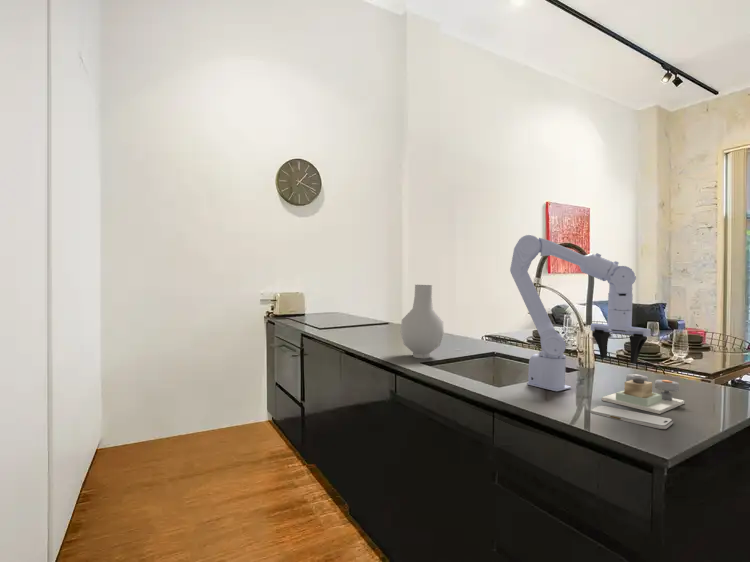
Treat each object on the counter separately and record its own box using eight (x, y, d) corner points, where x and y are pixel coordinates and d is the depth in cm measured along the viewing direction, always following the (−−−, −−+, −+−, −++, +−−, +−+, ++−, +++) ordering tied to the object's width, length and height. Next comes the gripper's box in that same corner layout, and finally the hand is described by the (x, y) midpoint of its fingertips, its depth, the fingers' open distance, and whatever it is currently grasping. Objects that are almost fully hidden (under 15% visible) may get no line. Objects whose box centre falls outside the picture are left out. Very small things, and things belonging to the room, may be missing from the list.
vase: (424, 352, 175) (426, 284, 175) (451, 358, 161) (454, 285, 161) (391, 354, 165) (393, 283, 165) (418, 362, 152) (420, 284, 152)
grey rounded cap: (651, 392, 108) (652, 380, 108) (659, 389, 111) (659, 377, 111) (674, 396, 104) (674, 384, 104) (681, 393, 107) (682, 381, 107)
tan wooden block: (624, 400, 105) (624, 378, 105) (634, 396, 109) (635, 376, 109) (641, 404, 102) (642, 382, 102) (651, 400, 106) (652, 379, 106)
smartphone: (599, 404, 102) (674, 419, 91) (600, 409, 102) (674, 424, 91) (588, 410, 97) (665, 426, 86) (588, 415, 97) (665, 431, 86)
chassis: (601, 400, 108) (602, 378, 108) (628, 391, 117) (629, 371, 117) (659, 413, 97) (660, 389, 97) (684, 403, 107) (684, 381, 107)
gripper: (655, 311, 111) (654, 363, 111) (599, 308, 122) (598, 354, 122) (644, 312, 107) (643, 365, 107) (587, 308, 118) (586, 356, 118)
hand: (618, 359), depth 114 cm, fingers open, 7 cm apart
